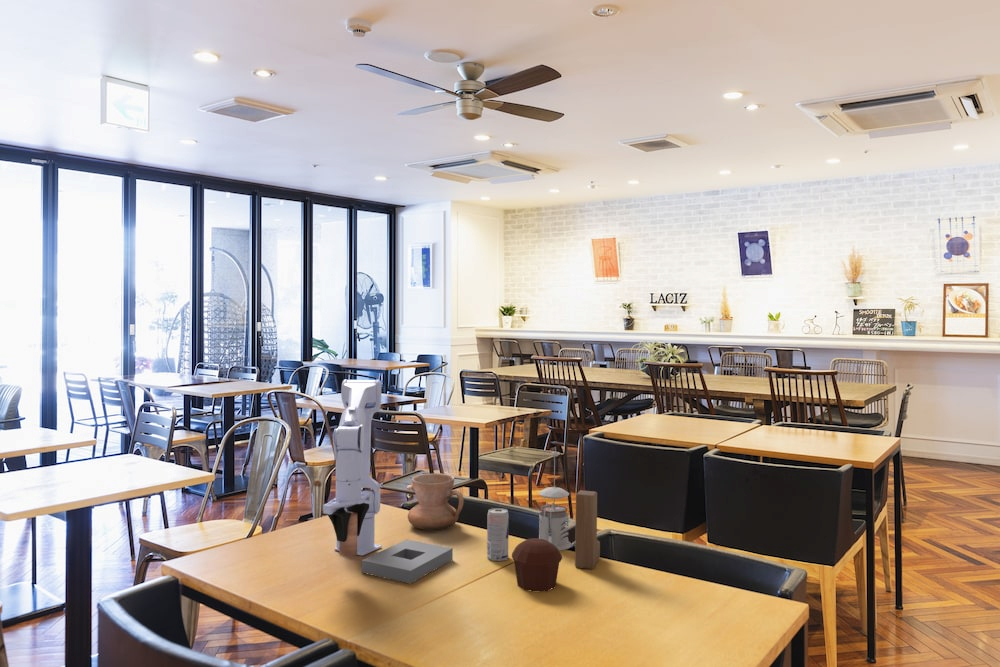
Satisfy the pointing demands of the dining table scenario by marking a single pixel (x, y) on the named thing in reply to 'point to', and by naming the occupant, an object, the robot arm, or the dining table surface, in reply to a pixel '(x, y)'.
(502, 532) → the energy drink
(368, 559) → the grey flat holed block
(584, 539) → the wooden block
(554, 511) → the french press
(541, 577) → the muffin
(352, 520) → the terracotta peg
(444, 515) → the ceramic jug
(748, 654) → the dining table surface
